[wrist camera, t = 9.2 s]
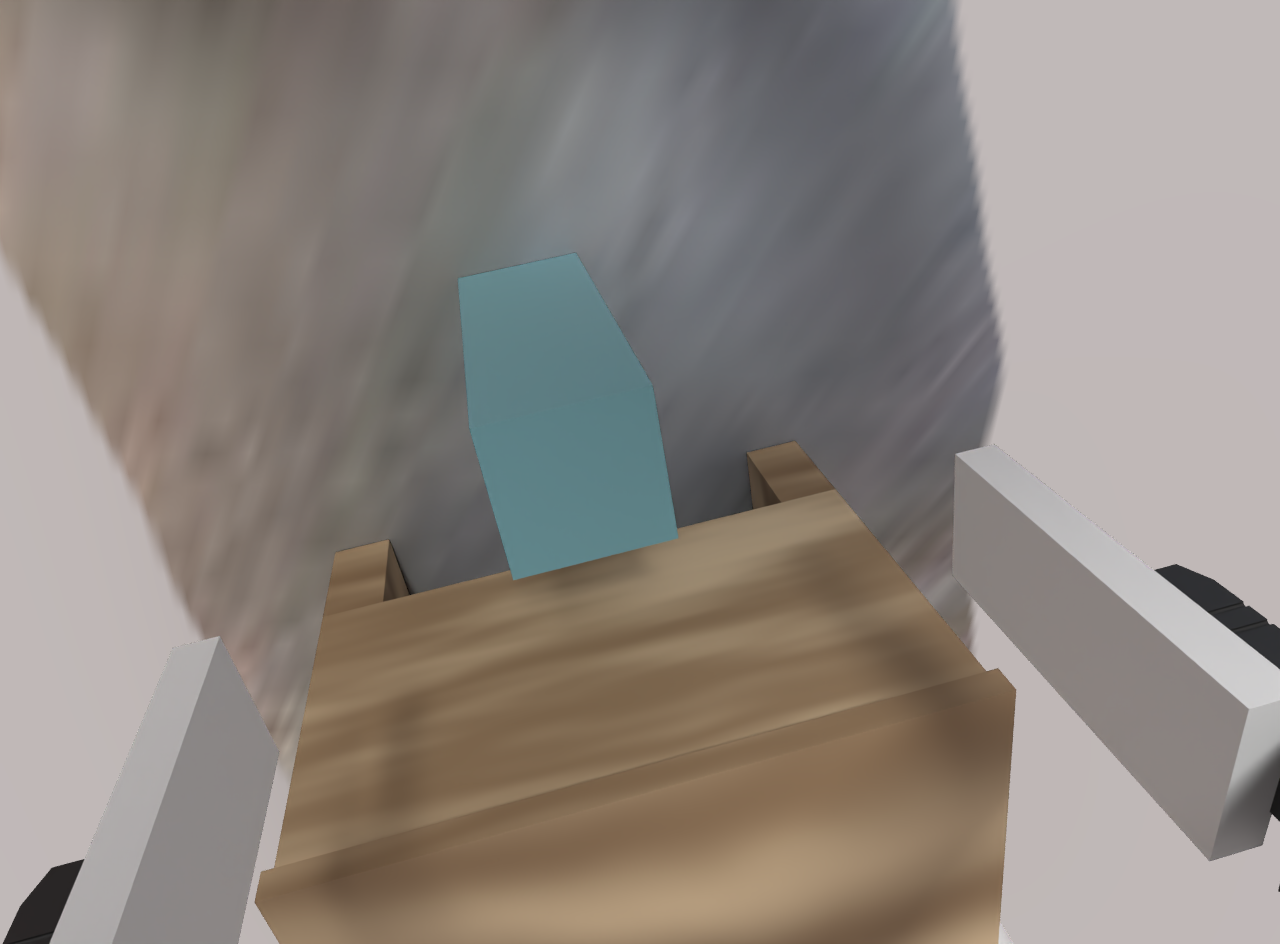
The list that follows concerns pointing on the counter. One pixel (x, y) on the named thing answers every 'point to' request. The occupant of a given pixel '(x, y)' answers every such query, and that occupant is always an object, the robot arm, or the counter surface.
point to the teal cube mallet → (561, 418)
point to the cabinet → (650, 748)
